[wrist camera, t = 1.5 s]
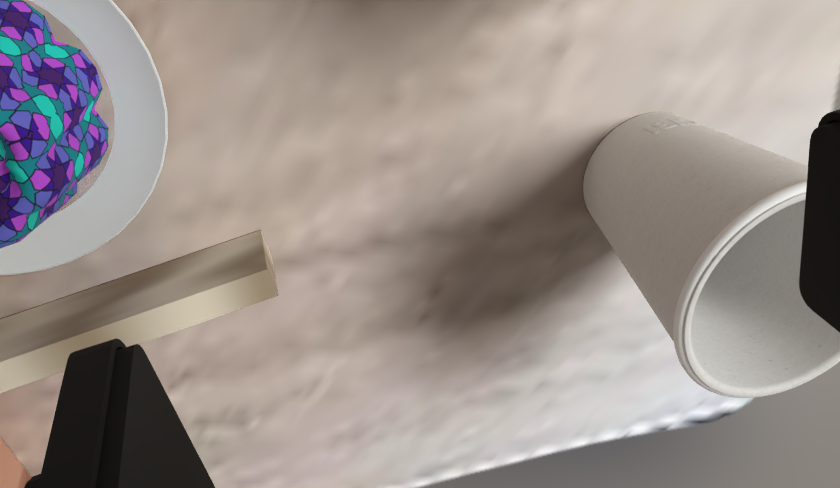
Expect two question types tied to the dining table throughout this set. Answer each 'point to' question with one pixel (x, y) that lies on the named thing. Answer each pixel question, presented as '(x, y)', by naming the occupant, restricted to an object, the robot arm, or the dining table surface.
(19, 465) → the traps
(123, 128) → the pudding
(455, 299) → the dining table surface
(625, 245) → the dixie cup
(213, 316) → the track
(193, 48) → the dining table surface
